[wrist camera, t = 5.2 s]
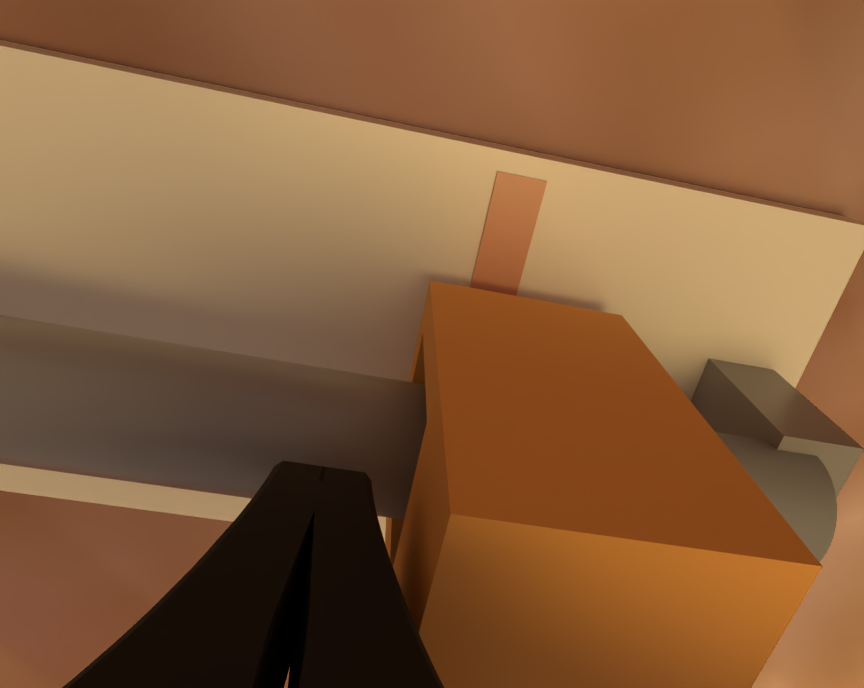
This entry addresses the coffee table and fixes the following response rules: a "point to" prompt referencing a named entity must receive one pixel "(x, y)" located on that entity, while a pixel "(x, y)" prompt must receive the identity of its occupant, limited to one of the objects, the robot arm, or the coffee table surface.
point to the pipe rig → (353, 290)
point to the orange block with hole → (580, 511)
